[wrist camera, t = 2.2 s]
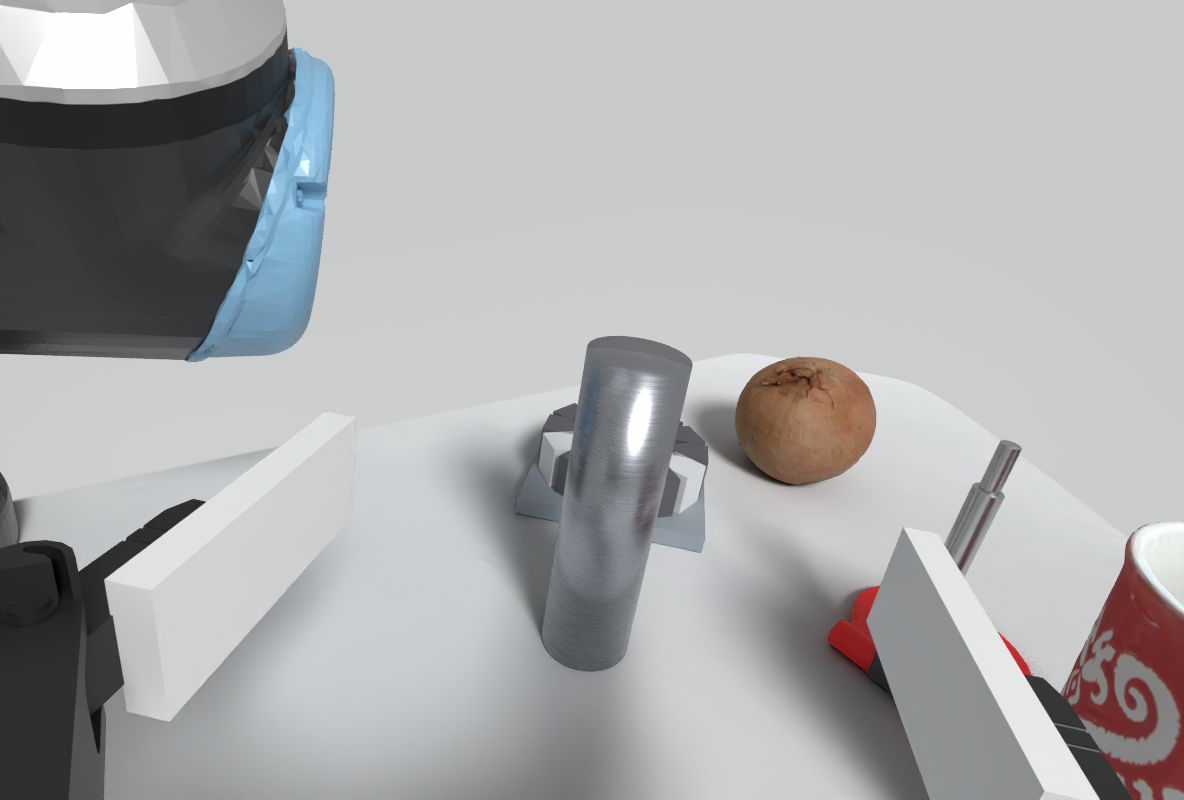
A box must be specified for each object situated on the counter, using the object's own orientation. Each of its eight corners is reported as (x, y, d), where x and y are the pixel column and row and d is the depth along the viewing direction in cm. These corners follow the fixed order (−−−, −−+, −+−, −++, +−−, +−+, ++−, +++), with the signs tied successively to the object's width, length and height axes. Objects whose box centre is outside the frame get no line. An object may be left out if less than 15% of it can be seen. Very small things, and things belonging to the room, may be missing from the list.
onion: (757, 525, 47) (752, 426, 41) (725, 433, 54) (717, 337, 48) (892, 499, 47) (909, 395, 40) (842, 410, 54) (849, 308, 47)
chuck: (514, 512, 39) (521, 460, 37) (551, 431, 49) (558, 388, 47) (701, 552, 38) (715, 501, 37) (700, 462, 48) (710, 418, 47)
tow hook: (895, 584, 39) (806, 635, 33) (987, 383, 34) (901, 401, 28) (1049, 685, 33) (975, 768, 27) (1186, 460, 28) (1131, 504, 23)
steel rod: (532, 659, 29) (579, 362, 23) (550, 599, 33) (594, 329, 27) (622, 680, 29) (692, 384, 23) (631, 617, 32) (692, 348, 27)
